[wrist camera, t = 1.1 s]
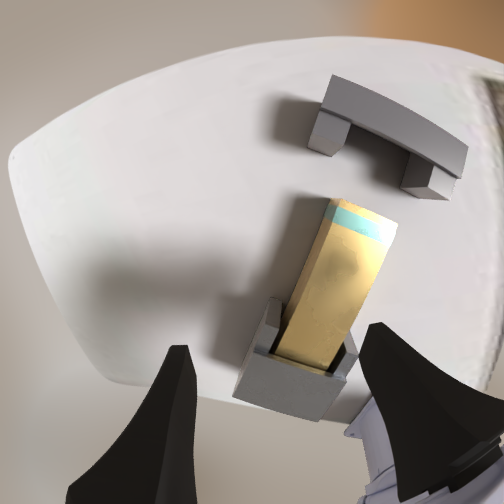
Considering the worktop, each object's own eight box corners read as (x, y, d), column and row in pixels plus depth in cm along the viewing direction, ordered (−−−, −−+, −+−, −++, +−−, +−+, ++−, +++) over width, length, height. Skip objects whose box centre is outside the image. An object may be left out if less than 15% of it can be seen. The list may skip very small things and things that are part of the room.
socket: (432, 155, 18) (468, 146, 13) (419, 198, 19) (454, 200, 14) (322, 102, 19) (332, 74, 13) (307, 147, 20) (312, 130, 14)
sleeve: (347, 324, 22) (360, 360, 16) (312, 385, 24) (314, 426, 18) (270, 296, 22) (263, 328, 17) (242, 361, 24) (230, 401, 19)
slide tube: (377, 218, 20) (398, 224, 15) (303, 374, 23) (303, 406, 19) (330, 197, 20) (340, 198, 16) (261, 360, 24) (254, 391, 19)
